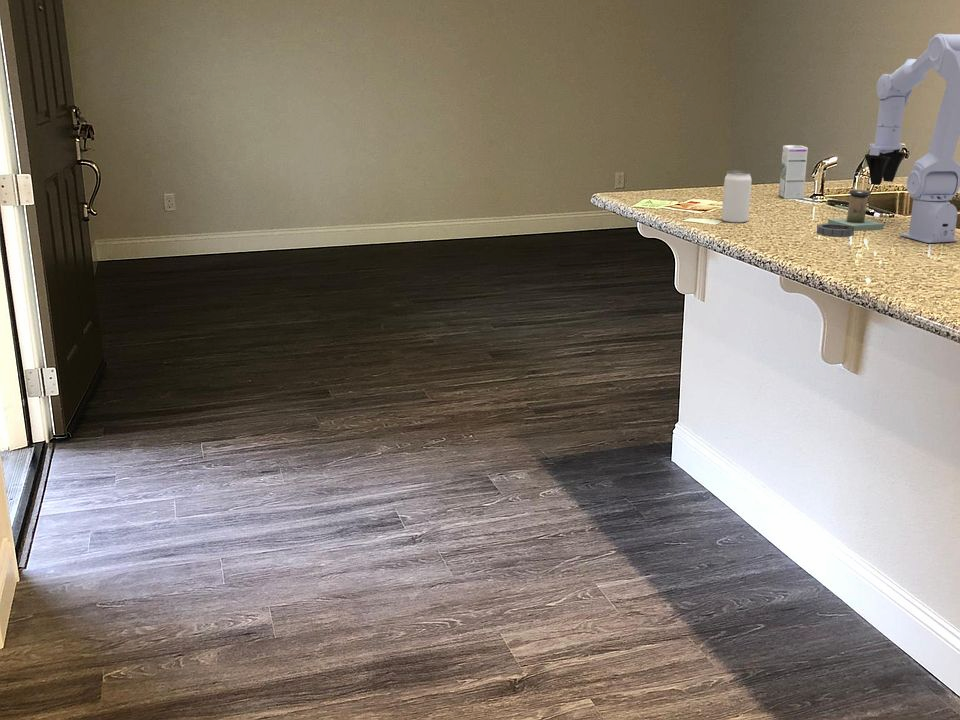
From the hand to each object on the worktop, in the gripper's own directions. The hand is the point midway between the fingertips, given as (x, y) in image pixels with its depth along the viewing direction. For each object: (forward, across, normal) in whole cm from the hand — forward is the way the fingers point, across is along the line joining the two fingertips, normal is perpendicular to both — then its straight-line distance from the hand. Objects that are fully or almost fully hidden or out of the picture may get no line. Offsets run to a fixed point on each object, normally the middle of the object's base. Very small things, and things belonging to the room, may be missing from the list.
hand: (881, 183), depth 240 cm
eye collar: (+9, +23, 0) cm, 25 cm away
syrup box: (+10, -20, -33) cm, 40 cm away
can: (+10, +24, -26) cm, 37 cm away
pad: (+9, +11, -1) cm, 15 cm away
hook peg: (+8, +11, -1) cm, 14 cm away
